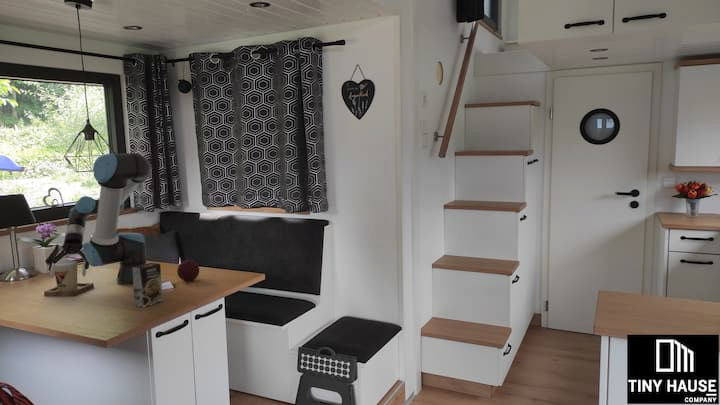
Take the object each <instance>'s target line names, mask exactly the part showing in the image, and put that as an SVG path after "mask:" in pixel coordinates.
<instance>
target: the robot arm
mask: <svg viewBox="0 0 720 405" xmlns="http://www.w3.org/2000/svg"><path fill="white" fill-rule="evenodd" d="M151 167H152V166H151V164H150V161H149V160H148V158H147V157H146V156H144V155H142V154H140V153H139V152H138V153H137V152H130V153H129V152H127V153H126V152H125V153H105V154H101V155H99V156H97V157H96V159H95V160H94V162H93V167H92V171H93V178H94V180H95V181H96V182H97V184H98V186H100V189H99V190H100V192H99V197H98V198H93V197H92V196H88V195H84V196H81V197H79V198H78V199H77V201H76V203H75V205H74V206H73V207H72V208H70V210H69V213H68V219H67V227H66V230H65V235H64V236H65V237H64V242H63V244H62V245H59V244H57V243H56V244H55V246H54V248H53V250H52V252H51V253H50V254H49V256H48V257H47V258H46V259H45V261H44V262H45V264H46V265H48V271H49V277H50V279H54V277H55V271H54V264H56V263H59V261H60V260H61V259H63V258H64V257H66V256H68V255H76V254H78V255H79V256H80V257H81V258H82V260H83V263H82V270H81V275H82V277H86V272H87V270H89V267H90V266H92V267H94V268H95V267H104V266H105V265H106V266H107V265H110V264H111V265H112V264H116V263H119V270H118V273H117V276H116V283H117V284H118V285H124V286H125V285H127V286H129V285H134V284H133V268H132V267H135V266H139V265H144V264H147V254H146V252H147V251H146V241H145V236H144V234H143V233H140V232H119V233H117V230H118V224H119V217H120V212H122V211H123V210H125V201H126V200H127V199H128V198H129V197H130V195H131V194H132V193H133V192H134V191H135V189H137V187H139V185H141V184H143V183H145V182H146V181H147V179H148V178H149V177H150V174H151V173H152V168H151ZM90 216H96V220H95V221H96V222H95V230H94V233H92V234H91V235H90V239H89V241H86V242H84V241H83V240H84V234H85V228H86V224H87V220H88V219H89V217H90ZM83 242H84V244H83ZM82 249H83V252H82V251H81V250H82Z"/></svg>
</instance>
